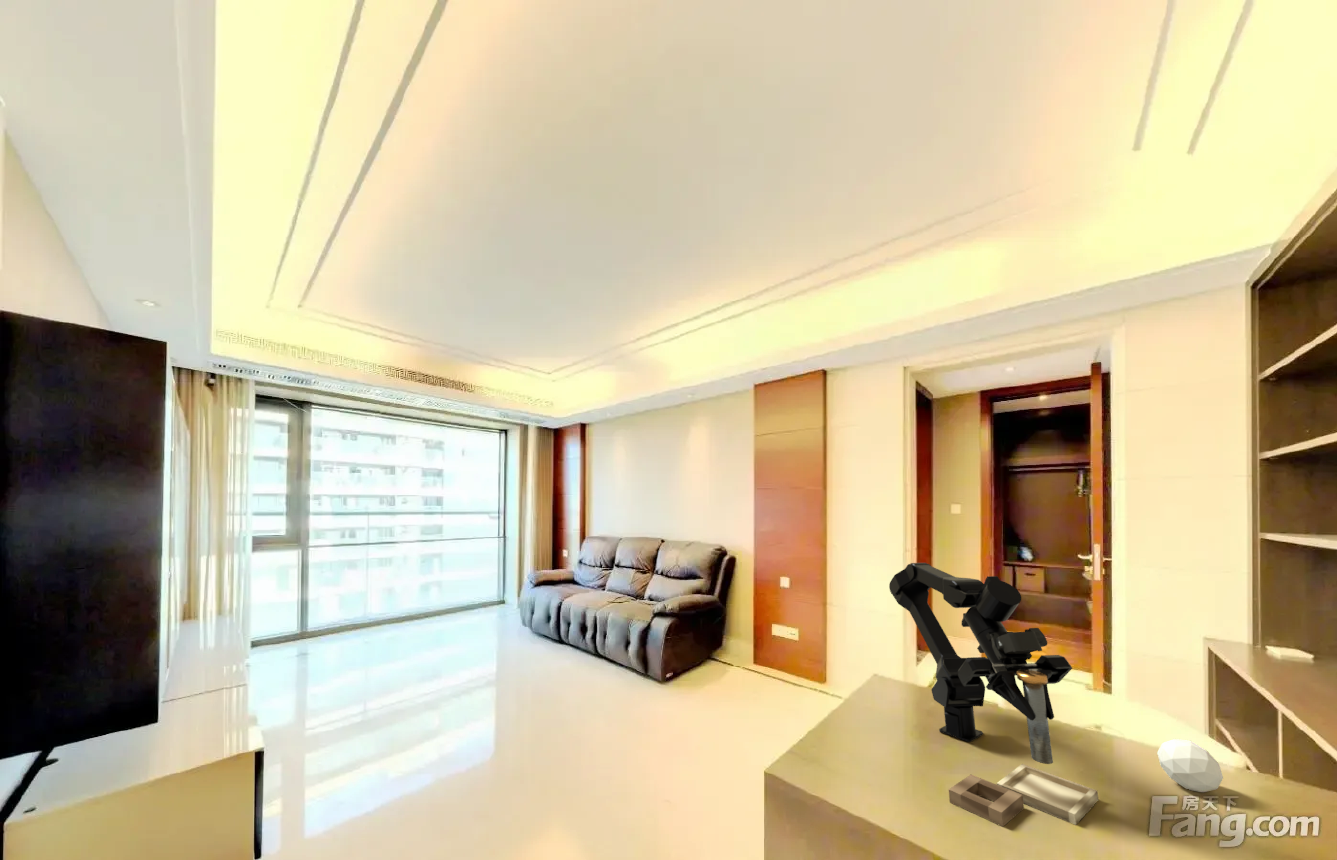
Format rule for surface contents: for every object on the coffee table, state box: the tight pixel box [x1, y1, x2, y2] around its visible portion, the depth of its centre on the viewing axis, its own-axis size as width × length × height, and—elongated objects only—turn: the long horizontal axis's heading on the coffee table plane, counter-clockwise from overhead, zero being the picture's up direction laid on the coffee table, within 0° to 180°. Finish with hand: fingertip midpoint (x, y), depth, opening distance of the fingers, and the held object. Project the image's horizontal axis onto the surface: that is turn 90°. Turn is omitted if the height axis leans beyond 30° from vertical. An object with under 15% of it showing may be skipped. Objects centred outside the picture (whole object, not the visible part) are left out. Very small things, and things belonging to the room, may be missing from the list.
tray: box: [996, 763, 1100, 826], centre depth 84 cm, size 11×11×2 cm
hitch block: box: [948, 774, 1025, 827], centre depth 82 cm, size 8×8×2 cm
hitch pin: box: [1016, 670, 1054, 765], centre depth 86 cm, size 4×4×14 cm
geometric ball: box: [1157, 738, 1224, 793], centre depth 86 cm, size 8×8×8 cm
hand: (1042, 719), depth 85 cm, fingers closed on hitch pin, 3 cm apart
